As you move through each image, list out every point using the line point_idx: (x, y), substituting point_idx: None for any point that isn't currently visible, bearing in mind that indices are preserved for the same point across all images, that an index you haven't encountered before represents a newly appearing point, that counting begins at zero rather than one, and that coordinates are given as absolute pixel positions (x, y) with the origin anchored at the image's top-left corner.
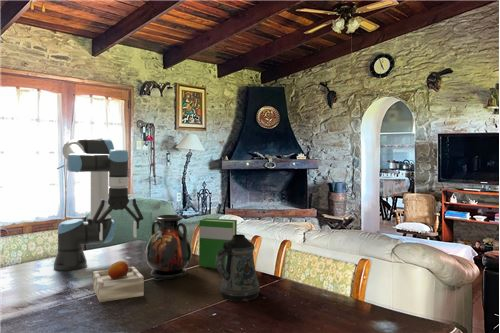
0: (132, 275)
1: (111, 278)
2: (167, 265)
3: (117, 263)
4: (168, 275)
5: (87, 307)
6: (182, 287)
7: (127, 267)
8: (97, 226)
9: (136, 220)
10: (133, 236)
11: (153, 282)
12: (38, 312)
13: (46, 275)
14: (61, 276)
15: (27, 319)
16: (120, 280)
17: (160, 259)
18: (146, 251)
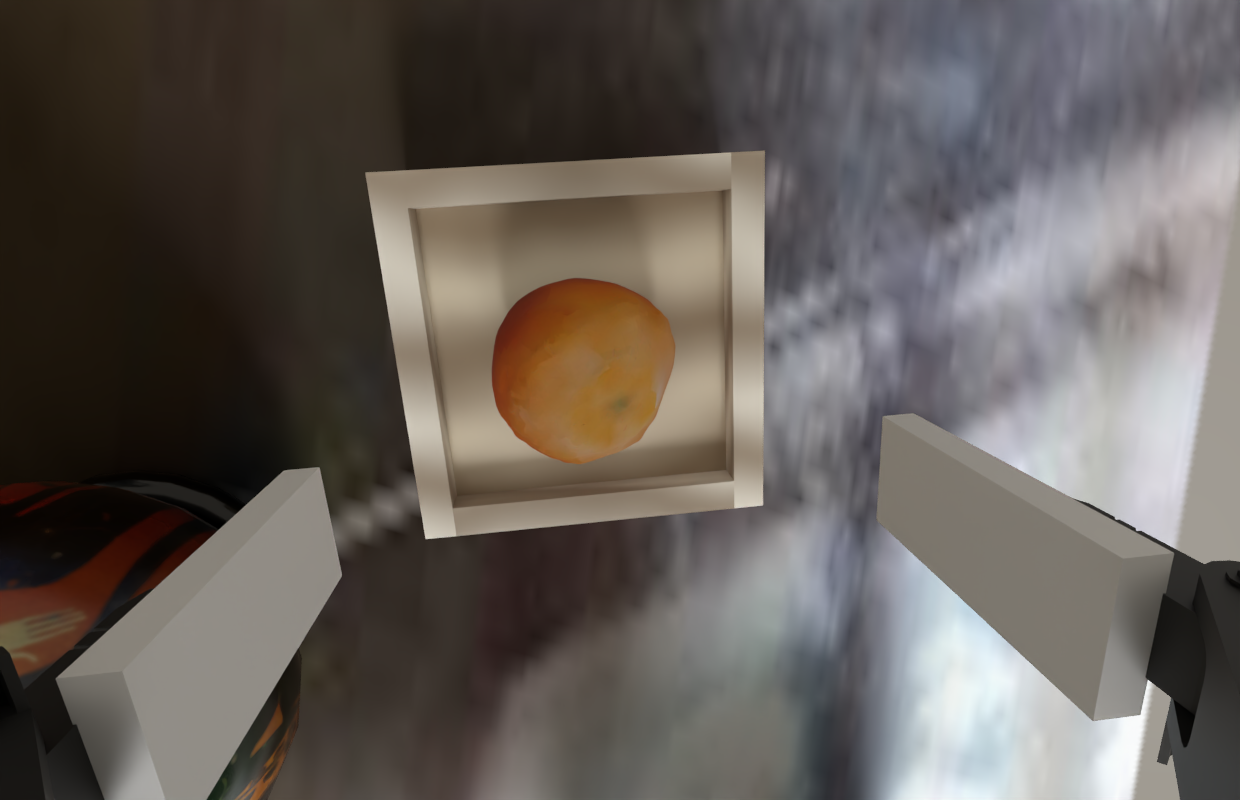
0: (459, 374)
1: None
2: (103, 487)
3: (603, 338)
4: (158, 485)
5: (807, 96)
6: (71, 253)
7: (501, 331)
8: (1178, 557)
9: (18, 730)
10: (337, 555)
11: (305, 452)
12: (1080, 135)
13: (939, 778)
14: (868, 741)
15: (1152, 33)
16: (586, 160)
17: (137, 532)
18: (261, 730)
